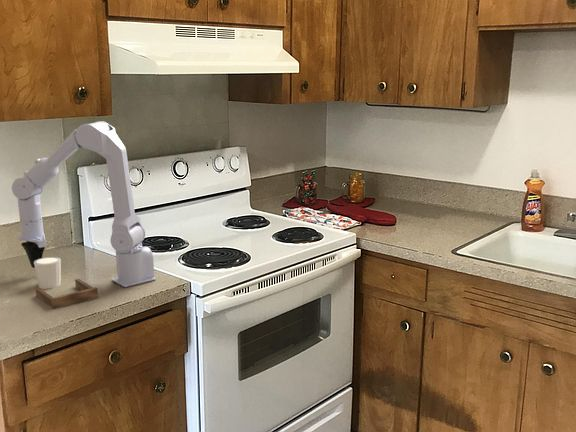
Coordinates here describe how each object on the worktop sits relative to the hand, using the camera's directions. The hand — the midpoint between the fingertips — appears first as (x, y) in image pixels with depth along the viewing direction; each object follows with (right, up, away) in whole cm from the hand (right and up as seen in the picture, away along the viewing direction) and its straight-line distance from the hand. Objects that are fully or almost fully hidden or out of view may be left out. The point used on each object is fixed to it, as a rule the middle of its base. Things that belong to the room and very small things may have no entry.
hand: (36, 266), depth 176 cm
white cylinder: (+6, -5, -6) cm, 10 cm away
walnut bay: (+13, -6, -14) cm, 21 cm away
